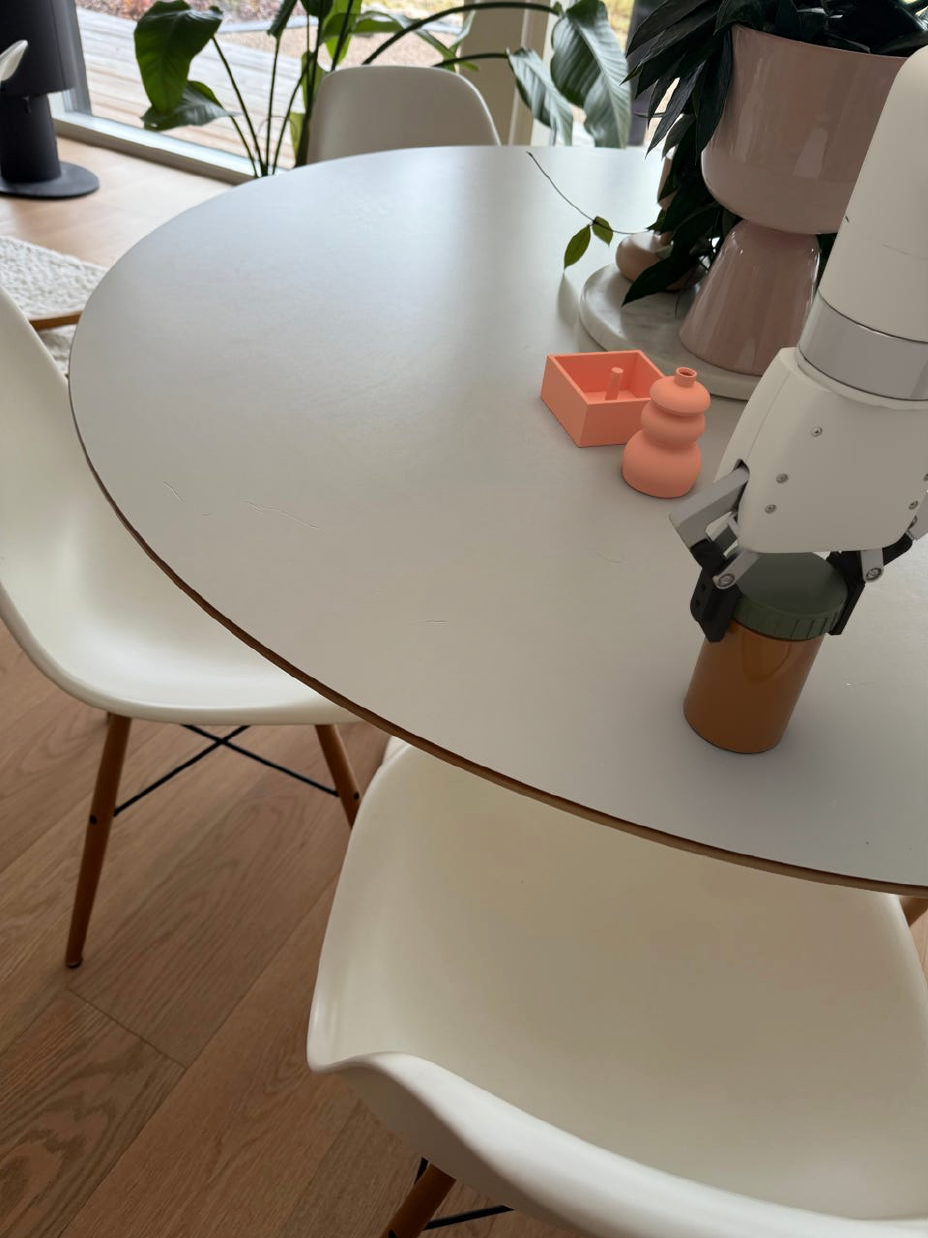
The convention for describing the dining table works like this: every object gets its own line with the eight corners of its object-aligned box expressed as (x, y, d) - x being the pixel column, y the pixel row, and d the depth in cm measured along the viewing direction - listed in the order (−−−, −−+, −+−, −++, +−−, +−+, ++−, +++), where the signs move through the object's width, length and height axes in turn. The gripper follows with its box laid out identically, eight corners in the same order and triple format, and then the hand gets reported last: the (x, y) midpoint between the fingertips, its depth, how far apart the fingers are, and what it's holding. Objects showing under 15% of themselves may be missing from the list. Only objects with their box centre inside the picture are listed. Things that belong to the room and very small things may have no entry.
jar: (794, 706, 65) (849, 575, 59) (770, 768, 61) (826, 634, 54) (700, 669, 67) (743, 538, 61) (670, 726, 63) (712, 592, 56)
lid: (746, 549, 62) (754, 525, 61) (856, 600, 59) (866, 575, 58) (693, 601, 57) (701, 575, 56) (809, 658, 54) (820, 633, 53)
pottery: (539, 396, 94) (558, 294, 87) (630, 390, 97) (654, 291, 90) (622, 505, 81) (650, 396, 75) (723, 494, 84) (758, 388, 78)
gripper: (992, 313, 52) (862, 577, 64) (685, 305, 48) (607, 588, 60) (1086, 384, 47) (925, 658, 59) (750, 382, 43) (649, 677, 55)
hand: (765, 621), depth 59 cm, fingers closed on lid, 7 cm apart
